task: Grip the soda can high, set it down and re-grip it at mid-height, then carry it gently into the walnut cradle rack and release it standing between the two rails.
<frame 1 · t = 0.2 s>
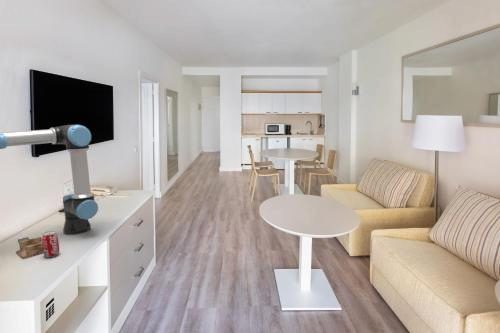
remote: (27, 244, 190), on the table
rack: (34, 251, 179), on the table
soda can: (52, 255, 173), on the table
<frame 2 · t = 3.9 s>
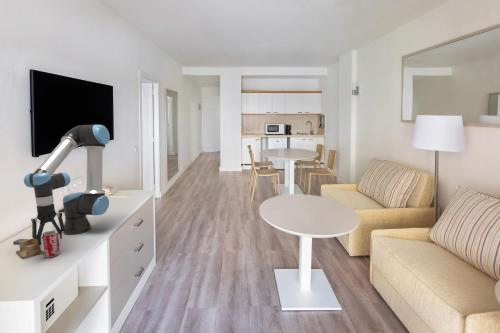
hand: (51, 247, 173), 4 cm above the table, fingers closed on soda can, 7 cm apart
soda can: (52, 255, 173), on the table, touching gripper
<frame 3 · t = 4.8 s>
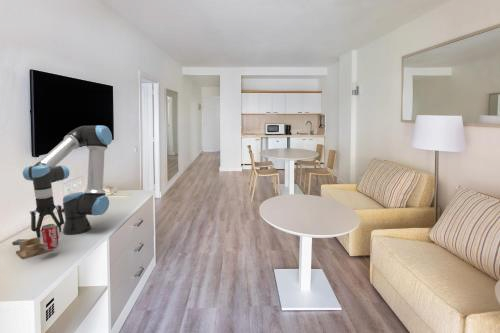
hand: (50, 240, 172), 8 cm above the table, fingers closed on soda can, 7 cm apart
soda can: (51, 248, 173), point 4 cm above the table, touching gripper
when the fingers open (4 cm above the table, at t = 6.0 s): soda can stays where it is, on the table.
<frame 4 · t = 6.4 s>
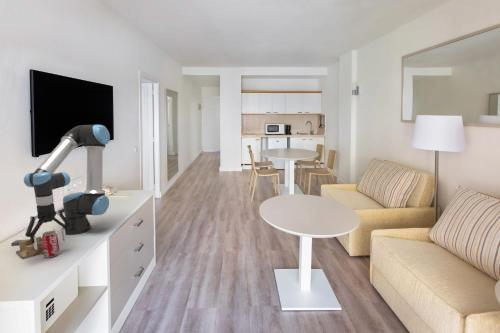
hand: (50, 244, 172), 6 cm above the table, fingers open, 13 cm apart
soda can: (52, 255, 173), on the table
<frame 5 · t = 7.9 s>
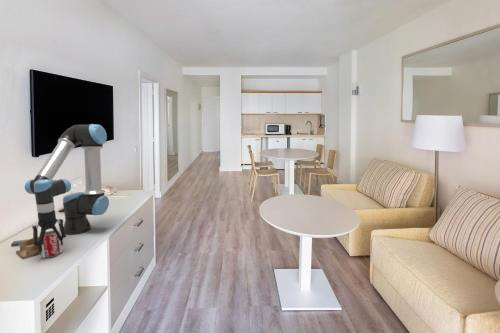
hand: (52, 254, 173), 1 cm above the table, fingers closed on soda can, 7 cm apart
soda can: (52, 255, 173), on the table, touching gripper
when the fingers open (3 cm above the table, at t = 13.1 s): soda can drops 1 cm, resting on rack.
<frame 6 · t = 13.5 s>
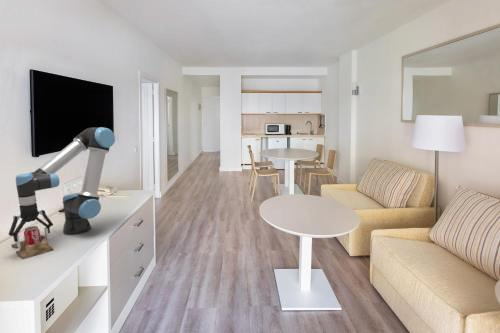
hand: (33, 243, 178), 5 cm above the table, fingers open, 12 cm apart
soda can: (34, 250, 179), point 1 cm above the table, touching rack
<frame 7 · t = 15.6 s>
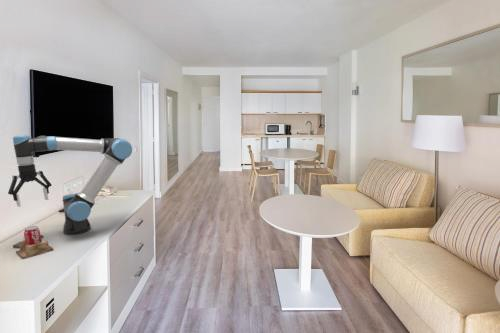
hand: (33, 203, 184), 24 cm above the table, fingers open, 13 cm apart
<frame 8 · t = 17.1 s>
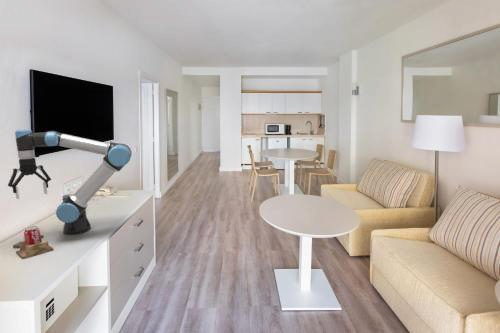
hand: (32, 196, 188), 27 cm above the table, fingers open, 13 cm apart
at the end: soda can inside the target area on the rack (0.1 cm from its centre), point 0.8 cm above the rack's base; soda can tilted 0°; the gripper is holding nothing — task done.
